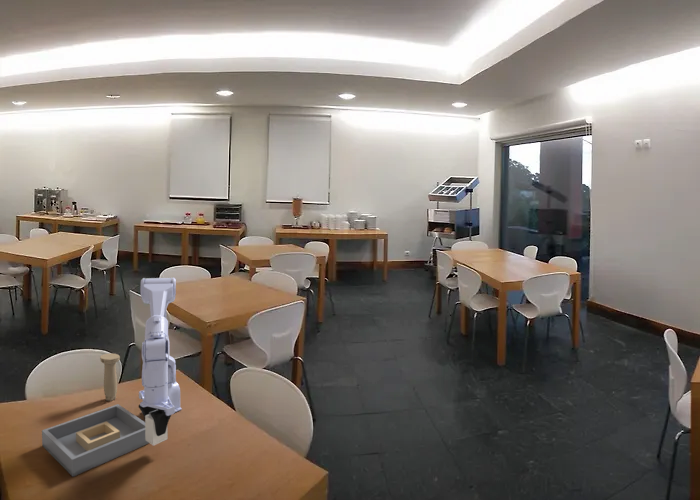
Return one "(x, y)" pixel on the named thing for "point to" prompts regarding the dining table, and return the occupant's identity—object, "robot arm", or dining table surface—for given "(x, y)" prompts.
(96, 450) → the box
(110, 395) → the handle
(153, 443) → the plug
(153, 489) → the dining table surface
